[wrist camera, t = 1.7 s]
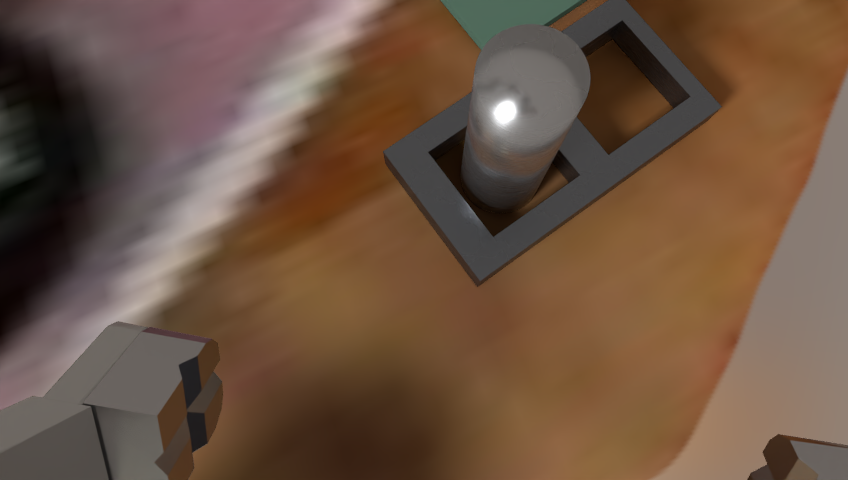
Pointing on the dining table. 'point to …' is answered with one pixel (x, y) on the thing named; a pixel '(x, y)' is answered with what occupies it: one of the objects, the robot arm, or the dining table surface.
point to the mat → (505, 15)
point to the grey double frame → (574, 159)
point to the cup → (520, 113)
